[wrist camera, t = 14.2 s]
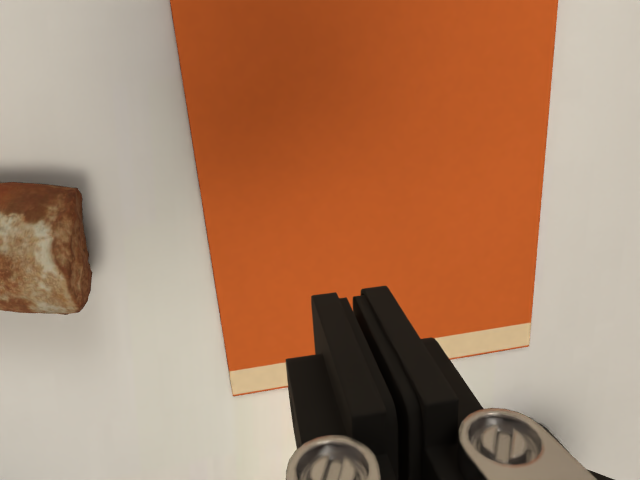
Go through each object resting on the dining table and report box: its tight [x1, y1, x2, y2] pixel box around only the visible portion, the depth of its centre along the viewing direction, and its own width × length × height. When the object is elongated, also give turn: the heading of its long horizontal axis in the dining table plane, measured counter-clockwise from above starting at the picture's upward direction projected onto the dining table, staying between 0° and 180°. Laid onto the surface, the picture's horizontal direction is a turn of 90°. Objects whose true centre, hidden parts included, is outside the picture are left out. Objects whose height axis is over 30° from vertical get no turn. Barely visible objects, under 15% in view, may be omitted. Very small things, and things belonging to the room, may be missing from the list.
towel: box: [170, 0, 558, 396], centre depth 30 cm, size 26×20×1 cm
